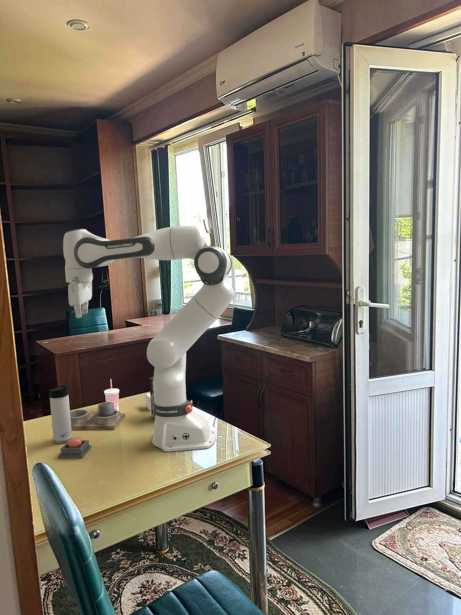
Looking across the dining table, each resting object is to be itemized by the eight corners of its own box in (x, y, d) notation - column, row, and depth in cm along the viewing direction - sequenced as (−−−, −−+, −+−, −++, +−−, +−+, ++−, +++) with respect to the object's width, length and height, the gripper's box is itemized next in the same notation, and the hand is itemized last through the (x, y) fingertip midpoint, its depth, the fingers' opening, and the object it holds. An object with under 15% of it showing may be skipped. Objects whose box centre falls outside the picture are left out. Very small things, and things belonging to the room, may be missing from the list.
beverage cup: (122, 411, 195) (120, 379, 193) (108, 415, 191) (106, 382, 189) (117, 407, 200) (115, 376, 198) (103, 411, 196) (101, 378, 194)
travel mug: (67, 444, 164) (62, 389, 161) (50, 443, 165) (45, 389, 162) (76, 437, 170) (71, 384, 167) (59, 436, 171) (55, 383, 168)
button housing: (91, 447, 161) (90, 439, 160) (82, 458, 153) (81, 449, 152) (69, 447, 161) (68, 439, 161) (58, 458, 153) (58, 449, 153)
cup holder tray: (124, 416, 188) (123, 399, 187) (114, 429, 176) (113, 410, 175) (72, 417, 190) (70, 399, 189) (58, 429, 177) (56, 411, 176)
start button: (83, 443, 159) (83, 437, 158) (78, 448, 154) (78, 442, 154) (71, 443, 159) (70, 437, 159) (65, 448, 155) (65, 442, 154)
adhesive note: (159, 404, 202) (159, 391, 201) (164, 408, 197) (163, 395, 196) (146, 407, 199) (145, 393, 199) (150, 411, 194) (149, 397, 193)
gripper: (81, 278, 153) (85, 319, 155) (93, 274, 173) (96, 311, 175) (61, 279, 152) (65, 320, 154) (76, 275, 172) (79, 312, 174)
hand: (82, 315), depth 165 cm, fingers open, 8 cm apart
